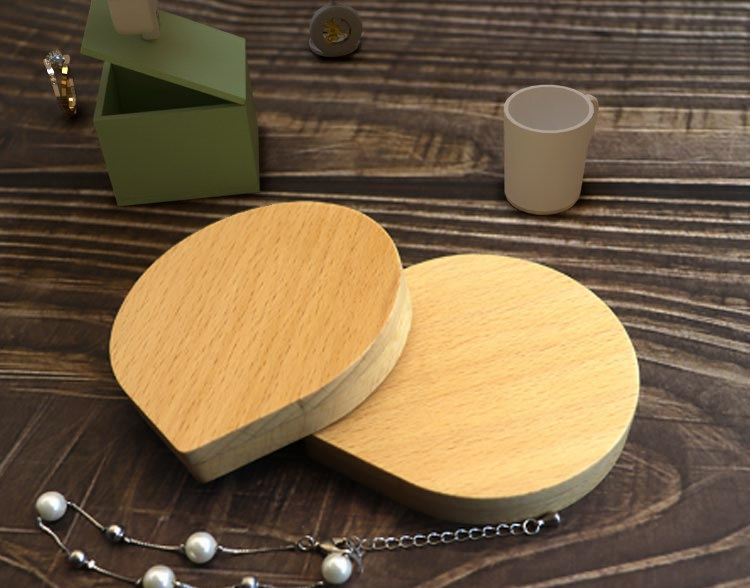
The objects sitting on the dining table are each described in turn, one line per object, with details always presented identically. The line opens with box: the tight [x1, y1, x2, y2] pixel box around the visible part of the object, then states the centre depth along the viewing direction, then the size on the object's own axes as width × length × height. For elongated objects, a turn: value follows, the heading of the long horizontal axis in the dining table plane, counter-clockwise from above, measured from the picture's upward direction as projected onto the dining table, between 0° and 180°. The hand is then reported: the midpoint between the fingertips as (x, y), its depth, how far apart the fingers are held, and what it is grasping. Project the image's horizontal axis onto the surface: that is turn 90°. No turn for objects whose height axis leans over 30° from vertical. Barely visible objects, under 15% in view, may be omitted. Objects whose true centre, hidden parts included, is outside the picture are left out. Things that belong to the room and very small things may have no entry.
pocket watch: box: [308, 0, 363, 58], centre depth 129 cm, size 8×8×10 cm
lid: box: [79, 0, 246, 105], centre depth 105 cm, size 16×13×1 cm
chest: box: [92, 48, 261, 207], centre depth 112 cm, size 16×13×11 cm
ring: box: [43, 48, 78, 118], centre depth 122 cm, size 7×3×8 cm, turn 2°
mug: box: [503, 84, 600, 216], centre depth 105 cm, size 11×9×10 cm
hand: (152, 32), depth 104 cm, fingers closed
